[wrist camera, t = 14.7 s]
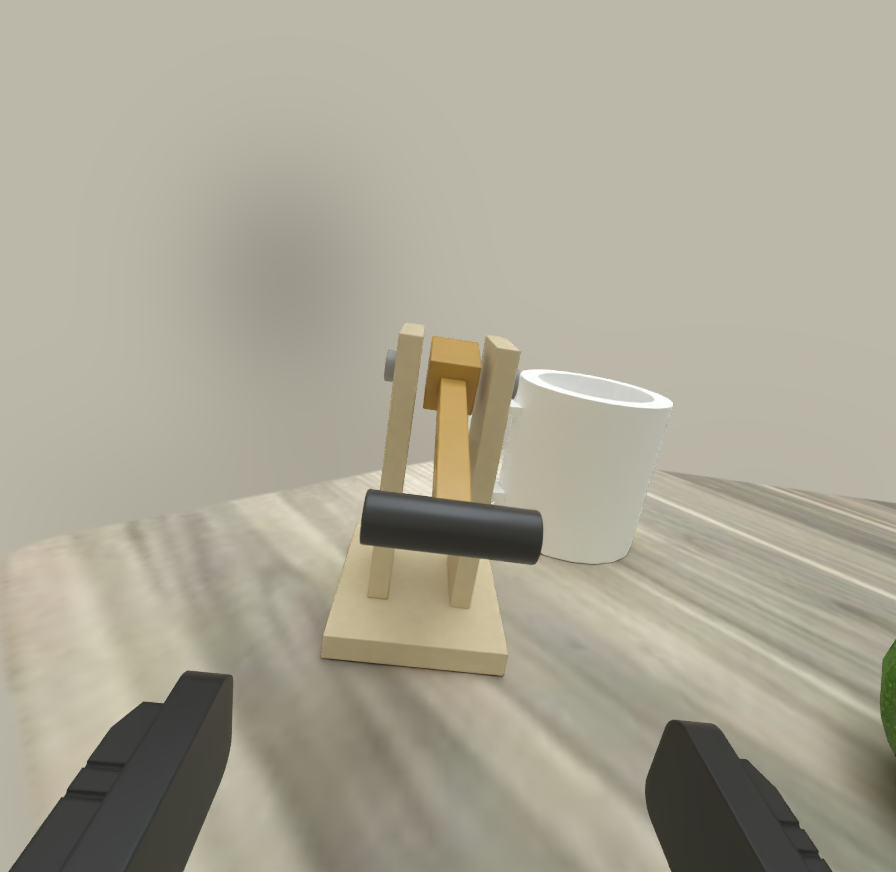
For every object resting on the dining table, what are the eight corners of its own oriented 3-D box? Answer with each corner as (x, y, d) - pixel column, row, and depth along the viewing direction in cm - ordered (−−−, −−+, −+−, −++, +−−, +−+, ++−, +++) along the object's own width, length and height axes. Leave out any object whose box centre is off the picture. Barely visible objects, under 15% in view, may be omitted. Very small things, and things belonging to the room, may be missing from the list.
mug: (471, 564, 30) (504, 394, 27) (436, 491, 39) (457, 359, 36) (660, 564, 34) (709, 414, 30) (587, 497, 43) (618, 377, 40)
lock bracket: (503, 676, 22) (575, 368, 18) (320, 658, 21) (350, 334, 17) (481, 554, 31) (525, 335, 27) (355, 539, 31) (379, 313, 26)
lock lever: (529, 586, 14) (551, 525, 13) (356, 566, 14) (362, 502, 13) (497, 391, 25) (508, 346, 23) (397, 376, 24) (402, 330, 23)
